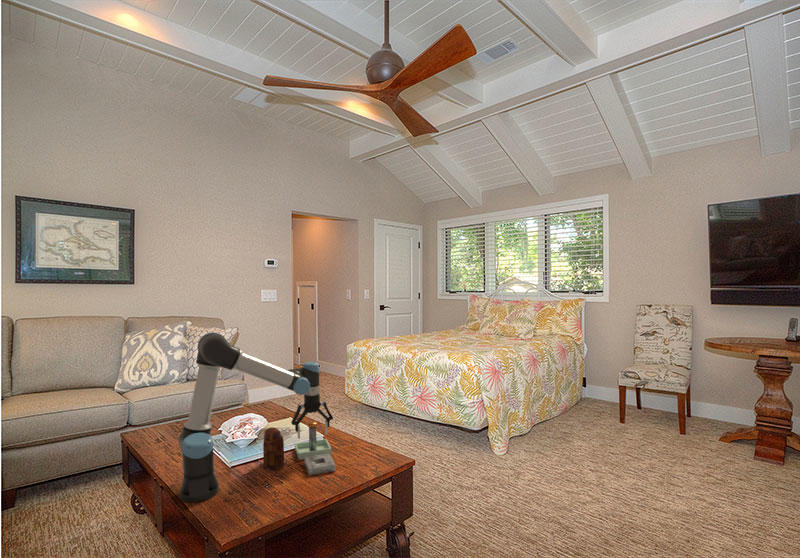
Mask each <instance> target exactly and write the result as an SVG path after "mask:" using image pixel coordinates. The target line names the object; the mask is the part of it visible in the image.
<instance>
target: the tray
mask: <svg viewBox="0 0 800 558" xmlns="http://www.w3.org/2000/svg"><path fill="white" fill-rule="evenodd" d="M294 450H295V454H296V456H297V459H298V460H299V461H300V460H304V458H305V457H311V456H317V455H323V454H329V453H330V455H331V456H332V453H333V452H332V447H331V444H330V443H329V441H328V439H327V438H323V439H318V440H317V450H315V451H309V441H304V442H298V443H294Z"/></svg>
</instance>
